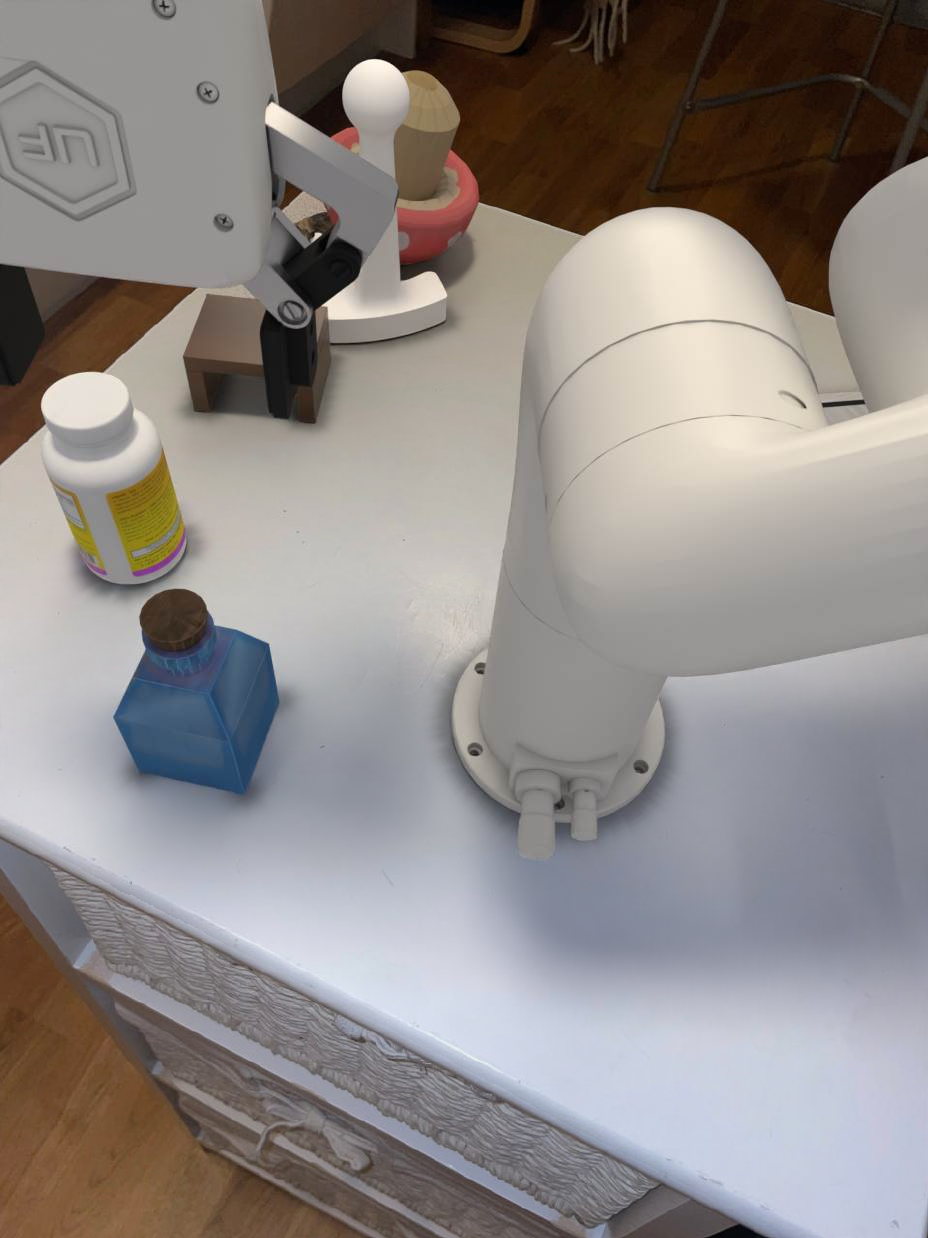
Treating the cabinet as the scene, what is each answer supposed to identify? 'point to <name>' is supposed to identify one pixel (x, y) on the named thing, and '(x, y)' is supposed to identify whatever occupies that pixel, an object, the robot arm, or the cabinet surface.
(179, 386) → the cabinet surface
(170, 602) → the perfume bottle
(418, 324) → the joystick
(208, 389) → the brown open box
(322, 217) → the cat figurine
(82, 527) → the supplement bottle
